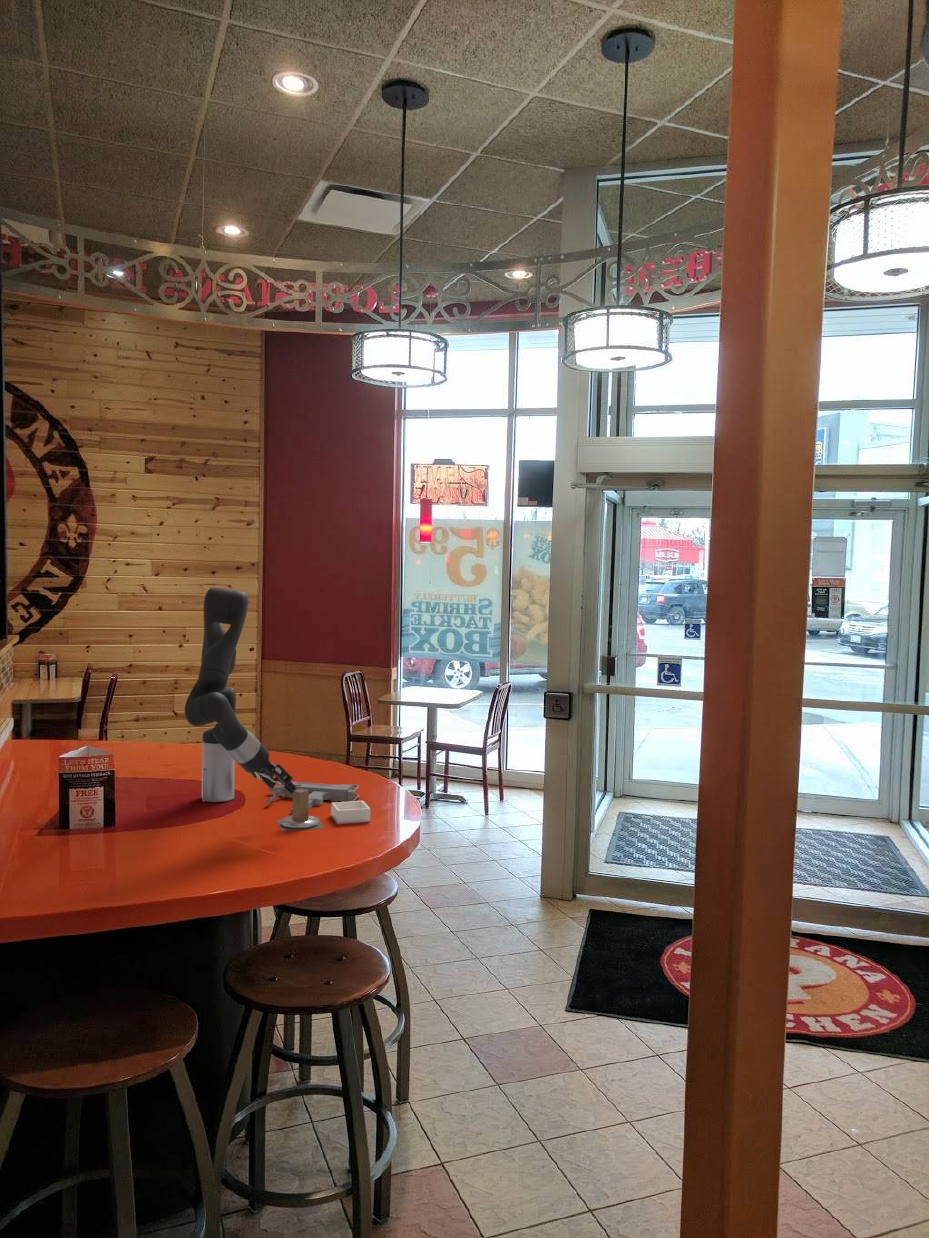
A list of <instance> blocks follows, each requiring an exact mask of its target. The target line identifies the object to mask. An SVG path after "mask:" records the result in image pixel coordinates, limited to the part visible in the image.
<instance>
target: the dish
mask: <svg viewBox="0 0 929 1238" xmlns="http://www.w3.org/2000/svg"><path fill="white" fill-rule="evenodd" d="M330 804H331V805H330V806H331V807H330V816H331V818H332V819H333V821H334V822H335V823H336V824H337V825H343V824H344V825H345V824H358V823H359V824H360V823H371V807H370V806H369V805H368V804H367V803H366V802H365V801H364V800H355V801H349V802H337V801H332V802H330Z"/></svg>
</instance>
